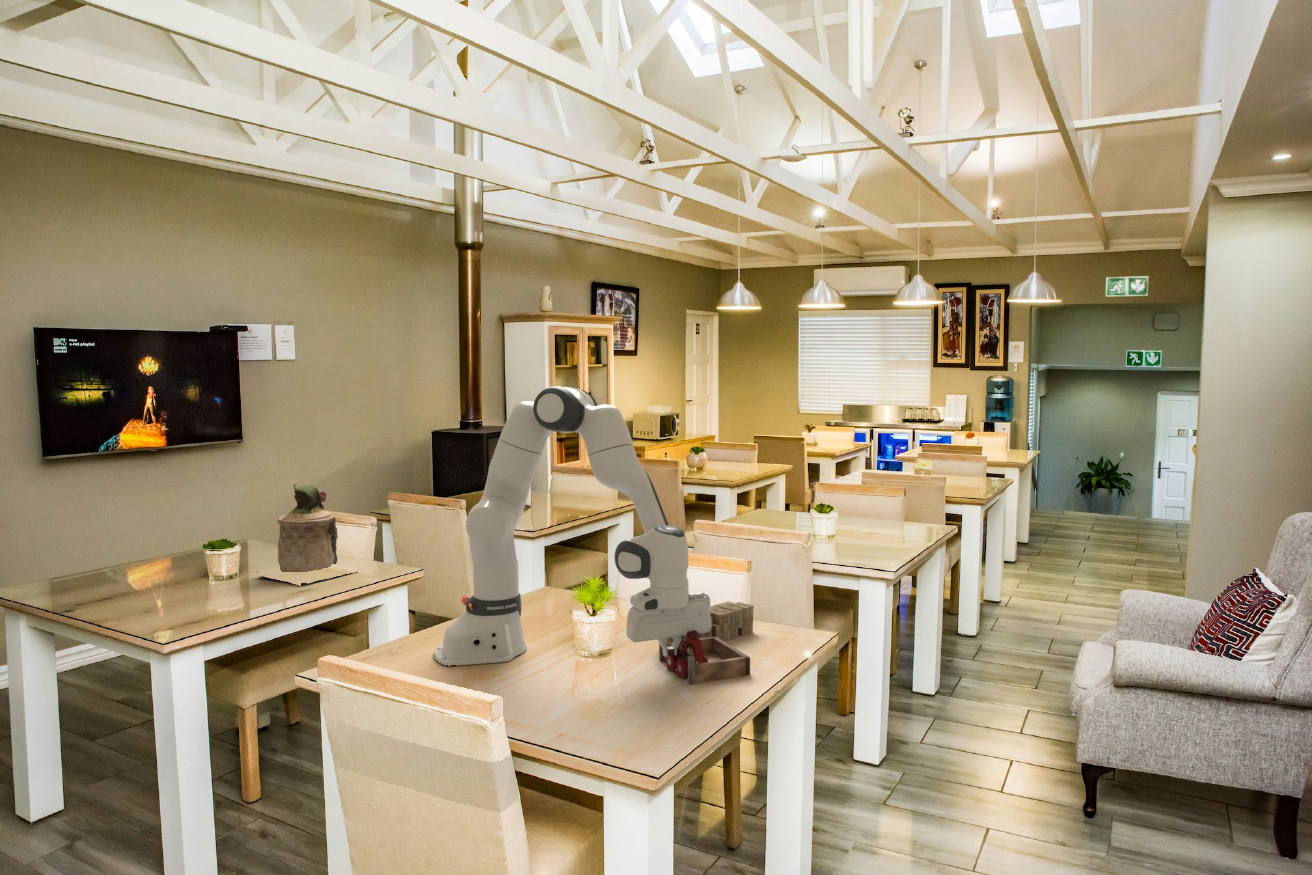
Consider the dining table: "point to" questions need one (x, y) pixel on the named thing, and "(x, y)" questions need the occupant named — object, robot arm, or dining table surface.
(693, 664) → the bay
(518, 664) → the dining table surface
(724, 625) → the block tower
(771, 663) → the dining table surface
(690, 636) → the toy fire truck
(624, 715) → the dining table surface
